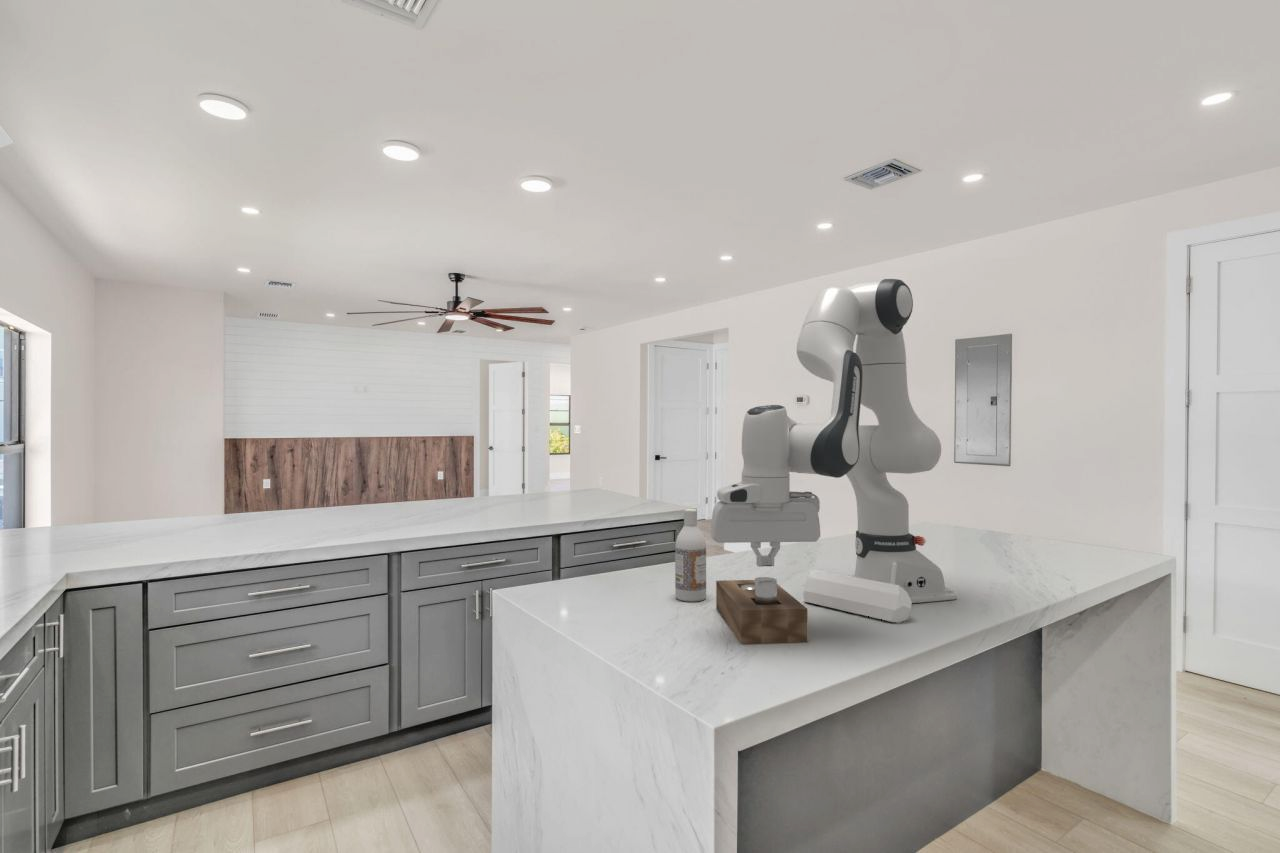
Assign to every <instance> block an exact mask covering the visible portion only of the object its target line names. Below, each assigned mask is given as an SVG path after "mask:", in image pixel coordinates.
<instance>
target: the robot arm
mask: <svg viewBox="0 0 1280 853" xmlns="http://www.w3.org/2000/svg"><path fill="white" fill-rule="evenodd" d="M913 300H914V299H913V294H912V292H911V289H910V287H909V286H908V284H906V283H905V282H904V281H903V280H902V279H899V278H898V279H896V278H884V279H882V280H874V281H873V280H871V281H865V282H859V283H855V284H853V285H849V286H845V287H843V286H830V287H827V288H824V289H823V290H821V291H820V292H819V293H818V294H817V296H815V299H813V302H812V304H811V305H810V308H809V309H808V311H807V314H806V316H805V319H804V321H803V324H802V327H801V329H800V332H799V336H798V339H797V343H796V355H797V359H798V360H799V363H800V364H801V365H802V367H804V368H805V370H806V371H808V372H809V373H811V374H812V375H813V376H816V377H817V378H820V379H823V380H826V381H829V382H832V383H833V390H832V400H831V409H830V416H829V417H828V419H826V420H825V421H824V422H821V423H799V422H797V421H795V420H793V419H792V418H790V417H789V416H788V412H787V408H786V407H785V406H783V405H780V404H767V405H761V406H754V407H752V408H750V409H749V410H747V411H746V412H745V415H744V418H743V421H742V422H743V423H742V430H741V431H742V432H741V455H742V456H741V457H742V459H743V460H742V461H743V468H742V471H741V481H739V482H736V483H734V484H730V485H728V486H724V487H721V488H718V489H717V492H716V496H717V500H719V501H717V503H716V504H715V505H714V506H713V509H712V514H711V522H710V537H711V538H712V540H714V541H715V542H716V543H719V544H721V543H723V544H726V543H727V544H728V543H729V544H730V543H731V544H734V543H735V544H736V543H737V544H738V543H750V548H751V550H752V552H753V553H754V555H755V557H756V562H755V563H756V566H757V567H760V568H761V567H775V557H777V554H778V552H779V551H780V549H781V543H805V542H806V543H807V542H808V543H810V542H811V543H812V542H813V543H814V542H815V543H816V542H818V541H819V539H820V538H821V525H820V517H819V513H820V509H821V508H820V507H821V506H820V504H821V502H820V498H819V497H818V496H817V494H814V493H813V492H812V491H790V489H791V488H790V486H791V485H790V482H791V481H790V473H796V474H807V475H808V474H809V475H819V476H824V477H831V478H837V479H838V478H842V477H844V476H846V477H847V478H848V480H849V482H850V483H851V487H852V490H853V492H854V495H855V501H856V508H857V509H856V512H857V530H856V531H855V541H854V542H855V546H854V547H855V555H856V563H855V569H854V575H853V577H857V578H863V579H868V580H873V581H879V582H884V583H889V584H895V585H899V586H901V587H902V588H903V589H904V590H905V591H906V592H907V593H908V595H909V597H910V599H911V602H912V603H911V604H917V603H918V604H919V603H928V602H941V601H951V600H952V601H953V600H956V599H957V595H956V592H955V591H954V590H952V589H951V588H948V587H946V585H945V579H944V578H945V577H944V575H943V572H942V570H941V568H940V567H939V566H938V565H937V564H936V563H934V562H933V561H932V560H931V559H929V558H928V557H926V556H925V555H924V554H923V553H922V552H920V551H919V550H917V546H916V545H918V546H920V547H922V546H925V544H926V538H925V537H923V536H920V535H914V534H912V533H910V531H909V528H910V527H909V522H910V520H909V518H910V517H909V513H910V512H909V502H908V499H907V497H906V496H905V495H904V494H903V493H902V492H901V491H899V490H897V489H895V488H894V487H893V486H892V485H891V483H890V482H889V479H888V478H887V474H886V473H888V474H889V473H891V474H906V475H907V474H908V475H909V474H917V473H924V472H929V471H931V470H933V469H934V468H935V467H936V466H937V464H938V462H939V461H940V458H941V455H942V444H941V441H940V440H941V439H940V438H939V436H938V435H937V434H936V432H935V431H934V430H933V429H932V428H930V427H929V426H928V425H926V424H925V423H924V422H923V421H922V420H921V419H920V418H919V416H918V415H917V413H916V411H915V410H914V408H913V406H912V403H911V401H910V395H909V390H908V376H907V373H908V372H907V355H906V354H907V353H906V345H905V339H904V335H903V334H904V333H903V328H904V326H906V324H907V323H908V322H909V320H910V318H911V316H912V313H913V307H914V301H913ZM856 337H857V338H856ZM855 342H856V344H855ZM854 345H856V346H855V352H854ZM861 405H862V406H863V407H865V408H867V409H869V410H871V411H872V412H873V413H874V415H875V416H876V419H877V422H878V425H877V424H876V425H874V424H873V425H871V424H870V425H866V424H864V425H862V424H861V425H860V417H861V416H860V415H861ZM762 543H769V546H770V547H771V549H770V550H769V552H768V555H762V553H761V552H760V550H759V549H761V548H762V547H761V546H762Z"/></svg>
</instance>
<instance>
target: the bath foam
mask: <svg viewBox="0 0 1280 853" xmlns="http://www.w3.org/2000/svg"><path fill="white" fill-rule="evenodd" d="M675 540H676V541H675V545H674V547H675V550H674V551H675V552H674V554H675V555H674V556H675V557H674V558H675V559H674V567H675V568H674V570H675V572H674V574H675V575H674V576H675V577H674V578H675V579H674V581H675V582H674V585H675V586H674V587H675V591H674V592H675V598H676V599H677V600H679V601H682V602H690V603H694V602H697V603H698V602H702V601H704V600H705V599H706V598H707V543H706V539H705V537H704V535H703V532H702V531H701V530H700V528H699V526H698V509H694V508H687V509H686V508H685V509H684V510H683V527H682V529H681V530H680V531H679V533H678V534H677V536H676V539H675Z"/></svg>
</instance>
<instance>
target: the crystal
mask: <svg viewBox="0 0 1280 853" xmlns="http://www.w3.org/2000/svg"><path fill="white" fill-rule="evenodd" d="M802 590H803V591H802V595H803V596H802V597H803V602H805V603H810V604H814V605H819V606H821V607H826V608H830V609H835V610H839V611H843V612H848V613H852V614H856V615H860V616H865V617H868V616H869V618H874V619H878V620H881V619H882V621H886V622H891V623H894V622H902V621H904V622H906V621H907V620H909V615H910V612H911V607H912V604H913V603H912V602H911V599H910V597H909V595H908V593H907V592H906V591H905V590H904V589H903V588H902V587H901V586H899V585H895V584H889V583H884V582H879V581H873V580H868V579H863V578H857V577H854V576H851V575H845V574H840V573H836V572H831V571H823V570H818V569H813V570H812V571H811V572H810V573H808V576H807V577H806V579H805V581H804V584H803V589H802ZM905 620H906V621H905ZM902 623H903V622H902Z"/></svg>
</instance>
